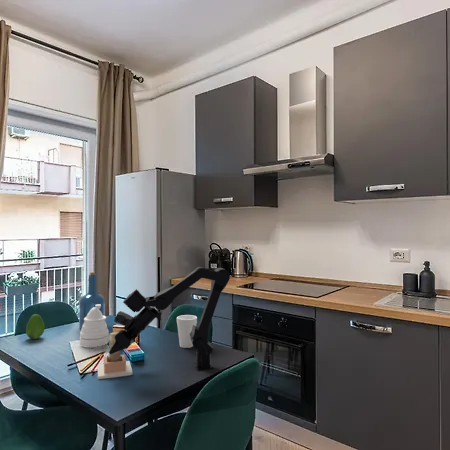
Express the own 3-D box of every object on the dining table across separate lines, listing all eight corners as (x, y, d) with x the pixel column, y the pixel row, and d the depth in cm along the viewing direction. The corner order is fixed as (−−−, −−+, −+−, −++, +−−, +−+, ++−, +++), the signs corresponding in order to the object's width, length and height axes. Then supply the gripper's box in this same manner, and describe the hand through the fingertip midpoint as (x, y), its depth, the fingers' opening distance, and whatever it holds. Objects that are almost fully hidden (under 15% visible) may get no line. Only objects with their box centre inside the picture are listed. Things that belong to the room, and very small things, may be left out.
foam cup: (198, 342, 171) (198, 315, 171) (195, 349, 162) (195, 320, 162) (178, 342, 172) (179, 314, 172) (174, 348, 163) (174, 319, 163)
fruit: (35, 341, 171) (35, 316, 171) (22, 340, 174) (22, 315, 174) (48, 337, 179) (48, 312, 179) (35, 335, 181) (35, 311, 181)
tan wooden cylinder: (120, 369, 136) (120, 334, 136) (109, 370, 135) (109, 335, 135) (119, 365, 140) (120, 331, 140) (108, 367, 138) (109, 332, 138)
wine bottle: (102, 330, 191) (102, 273, 192) (76, 331, 190) (76, 273, 190) (107, 323, 205) (107, 270, 205) (82, 324, 203) (83, 270, 203)
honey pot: (114, 340, 174) (114, 303, 174) (96, 348, 162) (96, 308, 162) (92, 337, 179) (92, 301, 179) (73, 345, 166) (73, 306, 167)
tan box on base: (132, 374, 133) (132, 362, 134) (97, 379, 129) (98, 366, 129) (129, 363, 145) (129, 352, 145) (97, 367, 141) (97, 355, 141)
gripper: (133, 299, 147) (106, 327, 147) (120, 310, 128) (89, 341, 128) (153, 319, 147) (125, 346, 146) (142, 332, 128) (111, 364, 128)
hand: (113, 349), depth 137 cm, fingers open, 9 cm apart
